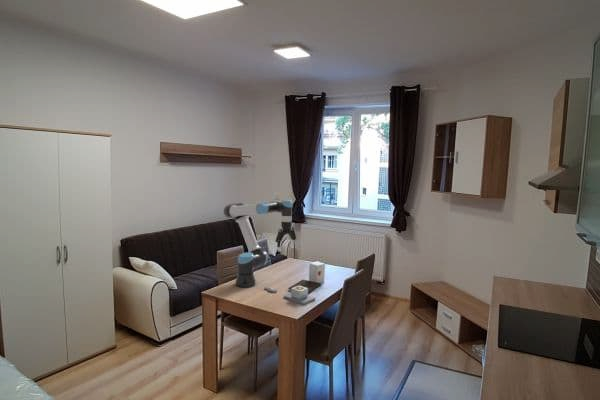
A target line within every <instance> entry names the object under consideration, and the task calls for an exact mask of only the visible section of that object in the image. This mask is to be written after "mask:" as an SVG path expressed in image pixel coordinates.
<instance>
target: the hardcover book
mask: <svg viewBox="0 0 600 400" xmlns="http://www.w3.org/2000/svg"><path fill="white" fill-rule="evenodd" d="M296 286H302V287H306V288H308V295H310V294H311V293H312V292H314V291H315V290H316V289H318V288H319V287H321V286H322V283H317V282H313V281H309V279H308V280H306V279H301V280H299V281H298V282H296V283H294V284H293V285H291V286H289V287H288V288H287V289H288V291H289V292H291V288H294V287H296Z"/></svg>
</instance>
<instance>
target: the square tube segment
mask: <svg viewBox="0 0 600 400" xmlns="http://www.w3.org/2000/svg"><path fill="white" fill-rule="evenodd" d="M299 287H300V288H302V290H298V288H299ZM290 293H291V297H293V298H296V299H299V300H301V299H304V298H306V297H308V296H309V294H308V288H306V287H302V286H296V287H294V288H291V291H290Z"/></svg>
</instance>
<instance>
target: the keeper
mask: <svg viewBox="0 0 600 400" xmlns="http://www.w3.org/2000/svg"><path fill="white" fill-rule="evenodd" d="M298 290H302V288H300V287H299V288H298ZM283 299H285V300H289V301H292V302H295V303H298V304H299V305H303V306H306V305H307V304H309V303H311V302H314V301H316V297H313V296H311V295H308V297H306V298H304V299H301V300H299V299H296V298H293V297H291V292H290V293H287V294H285V295H283Z"/></svg>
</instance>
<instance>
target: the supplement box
mask: <svg viewBox="0 0 600 400" xmlns="http://www.w3.org/2000/svg"><path fill="white" fill-rule="evenodd" d="M325 268H326V264H325V263H324V262H320V261H318V260H317V261H313V262H309V267H308V281H313V282H317V283H321V284H322V283H324V282H325V274H326V272H325Z"/></svg>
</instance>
